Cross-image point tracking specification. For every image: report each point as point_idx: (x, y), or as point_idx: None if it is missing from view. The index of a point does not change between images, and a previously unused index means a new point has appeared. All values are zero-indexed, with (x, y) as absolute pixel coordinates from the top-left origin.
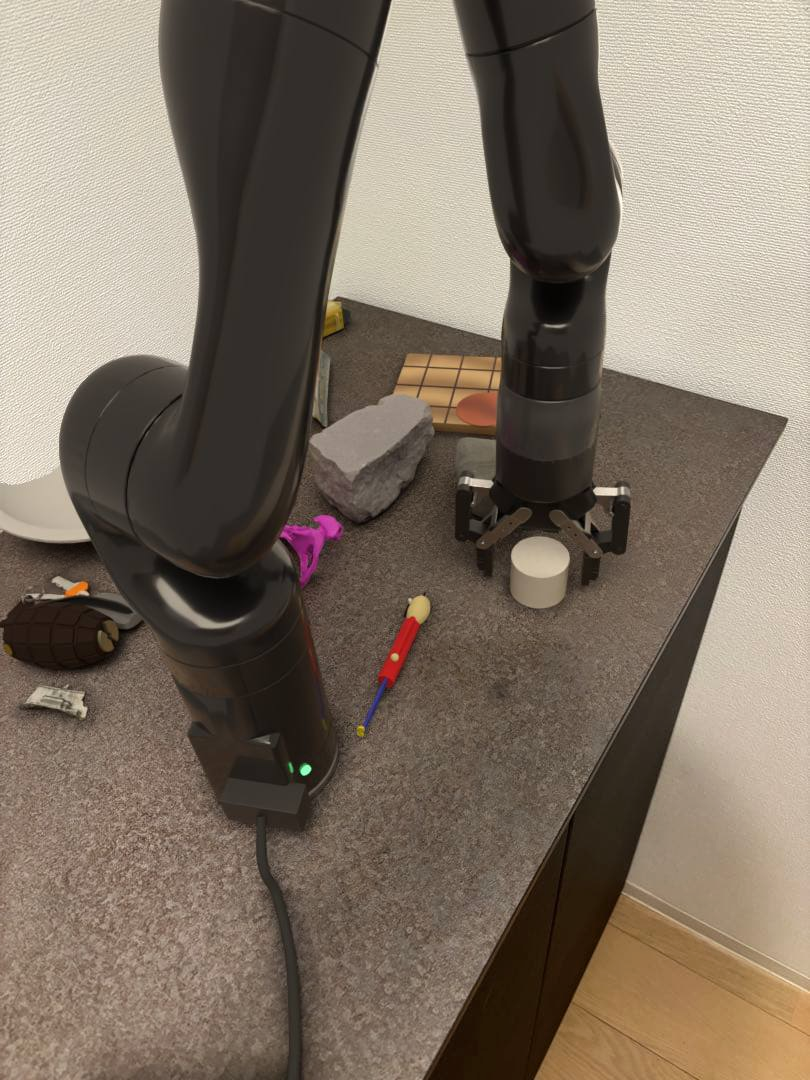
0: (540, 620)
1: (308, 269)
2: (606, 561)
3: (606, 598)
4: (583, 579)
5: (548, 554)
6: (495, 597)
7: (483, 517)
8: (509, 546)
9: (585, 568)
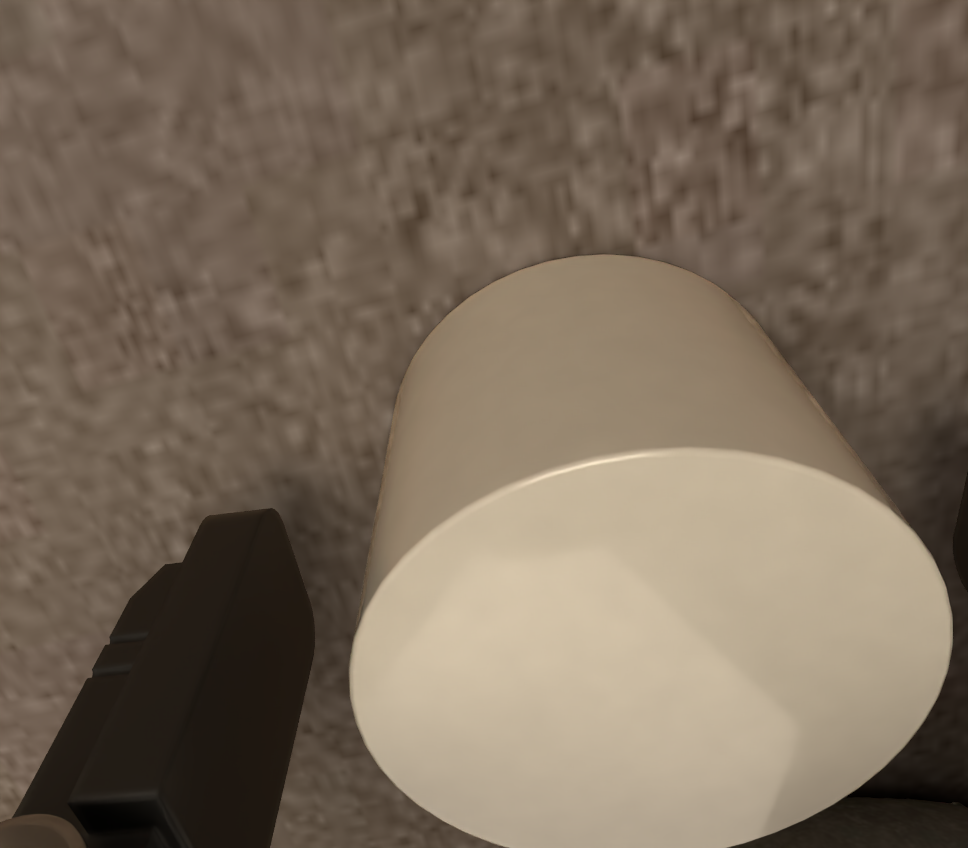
0: (518, 145)
1: None
2: None
3: (124, 462)
4: (236, 553)
5: (568, 730)
6: (893, 286)
7: (966, 815)
8: None
9: (187, 659)
